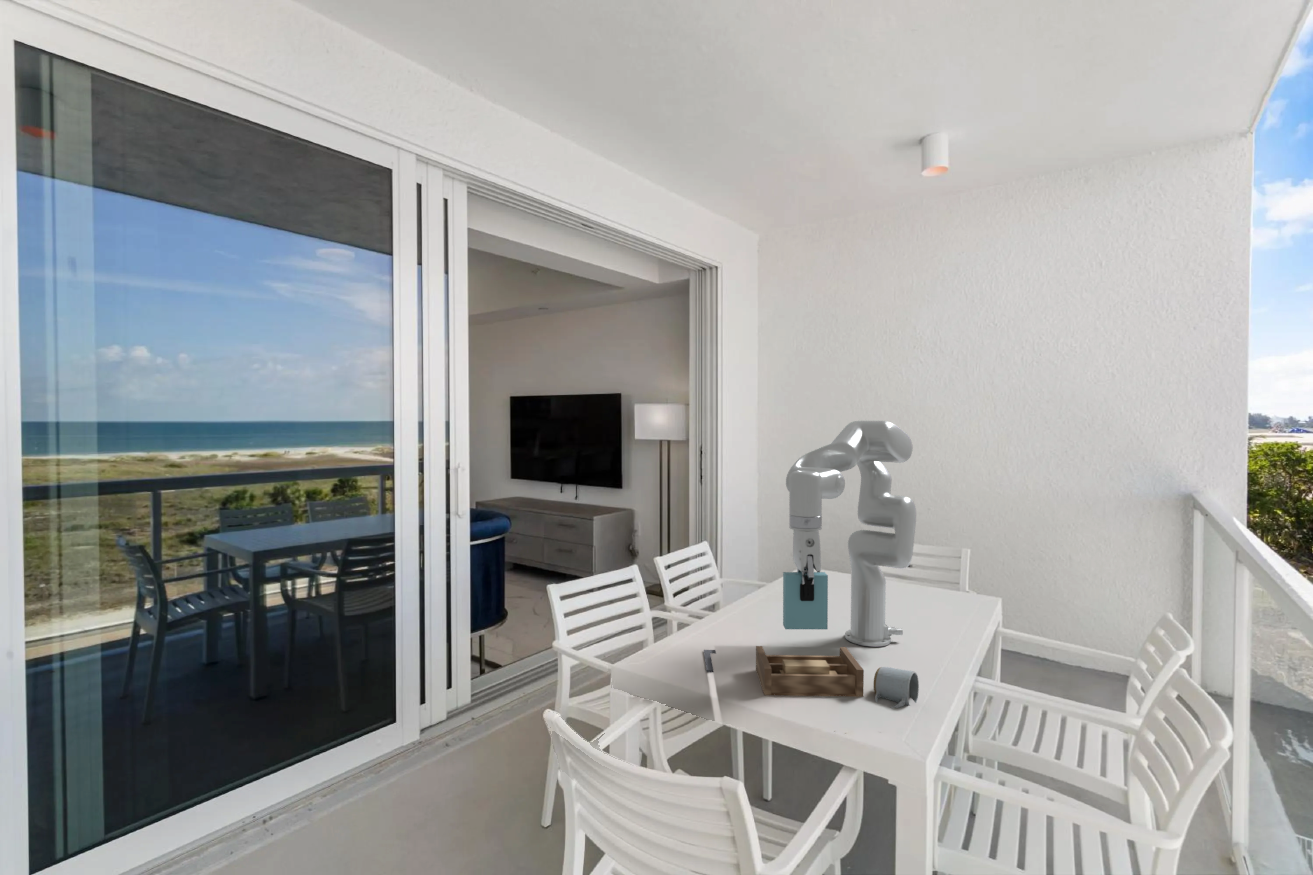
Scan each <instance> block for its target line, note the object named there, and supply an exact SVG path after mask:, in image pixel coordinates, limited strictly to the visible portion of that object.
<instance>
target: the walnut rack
mask: <svg viewBox="0 0 1313 875" xmlns="http://www.w3.org/2000/svg"><path fill="white" fill-rule="evenodd" d="M783 660H826V662H827V663H828V665H829V666H830V671H836V673H837V674H779V670H783ZM755 672H756V674H757V677H758V680H759V684H760V686H761V689H762V691H763V695H764V696H777V697H779V696H787V697H788V696H789V697H791V696H793V697H796V696H797V697H848V698H849V697H854V698H857V697H859V698H860V697H861V698H862V697H864V685H865V684H864V680H865V678H864V677H865V676H864V672H865V670H864V668H863V667H862V666H861V665H860V663H859V662H858V660H856V658H855V657H854V656H853V654H852V653H851V652H850V651H849V649H848V648H847V647H846V646H839V655H820V654H819V655H810V654H807V655H806V654H800V655H799V654H798V655H797V654H766V652H765V650H764V646H762V645H756V646H755Z"/></svg>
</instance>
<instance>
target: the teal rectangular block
mask: <svg viewBox="0 0 1313 875" xmlns="http://www.w3.org/2000/svg"><path fill="white" fill-rule="evenodd" d="M805 575H807V574H804V576H805ZM782 577H783V578H782V588H783V590H782V595H783V596H782V599H783V600H782V601H783V602H782V604H783V605H782V626H783V627H784V629H785V630H828V628H829V627H828V619H829V618H828V615H829V614H828V610H829V608H828V607H829V606H828V605H829V604H828V603H829V602H828V600H829V599H828V598H829V597H828V595H829V592H828V591H829V589H828V587H829V586H828V585H829V575H828V574H827V573H826V572H825V571H820V572H817V571H814V601H801V600H800V584H802V583H801V572H797V571H787V572H786V571H783V572H782Z"/></svg>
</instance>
